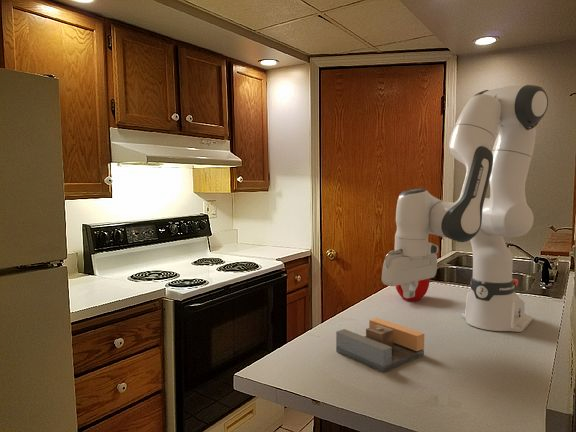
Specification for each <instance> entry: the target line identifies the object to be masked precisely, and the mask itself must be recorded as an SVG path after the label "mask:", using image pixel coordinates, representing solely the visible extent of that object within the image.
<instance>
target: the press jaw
mask: <svg viewBox="0 0 576 432" xmlns="http://www.w3.org/2000/svg"><path fill="white" fill-rule="evenodd" d="M376 325H381V326H384V327H387V328H390V329H393V330H394V343H396V344H399V345H401V346H404V347H407V348H409V349H412V350H415V351H419V350H421V349H425V333H424V332H421V331H418V330H415V329H413V328H409V327H406V326H404V325H400V324H397V323H393V322H390V321H387V320H385V319H381V318H378V317H374V318H371V319H369V326H368V328H370V327H373V326H376Z"/></svg>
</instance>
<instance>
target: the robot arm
mask: <svg viewBox="0 0 576 432" xmlns="http://www.w3.org/2000/svg"><path fill="white" fill-rule="evenodd" d="M548 97H549V96H548V94H547V92H546V91H545V89H544V88H543V87H542V86H538V85H535V84H526V85H509V86H504V87H498V88H493V89H485V90H482V91H479V92H478V93H475V94H474V95H473V96H472V97H471V98H470V99H469V100H468V101H467V103H466V104H465V105H464V107H463V108H462V111H461V112H460V114H459V115H458V118H457V119H456V123H455V124H454V127H453V130H452V131H451V134H450V137H449V141H448V149H449V152H450V154H451V155H452V157H453V158H454V159H455V160H456V161H458V162H460V163H461V164H463V165H464V166H465V176H464V180H463V182H462V183H463V184H462V188H461V191H460V194H459V198H458V199H457V200H456V201H454V202H449V201H443V200H442V199H439V198H437V197H435V196H434V195H432V194H431V193H430V192H429V191H428V189H425V188H414V189H413V188H412V189H407V190H403V191H402V192H401V193H400V194H399V195H398V198H397V200H396V201H397V203H396V209H395V225H396V231H395V234H394V250H390V251H388V253H387V254H386V255H385V258H384V260H383V265H382V272H381V282H382V284H383V285H385V286H389V287H396V286H397V285H401V287H402V290H403V297H404V298H411V297H414V296H415V290H416V288H417V286H418V281H420V280H424V279H429V278H430V279H433V278H435V276H436V275H437V270H438V253H439V246H438V245H437V244H434V243H432V242H429V235H430V234H431V235H435V236H437V237H440V238H447V239H449V240H452V241H455V242H457V243H466V242H468V241H469V242H470V245H471V250H472V277H470V278H471V279H470V289H471V290H470V291H468V292H467V295H466V300H465V301H466V302H465V303H466V304H465V311H464V312H462V314H461V317H462V318H463V319H465V322H466V323H467V324H468V325H470V326H472V327H474V328H479V329H480V330H486V331H491V332H492V331H493V332H494V331H495V332H514V333H515V332H517V333H522V332H524V330H525V329H527V327H528V325H530V324H531V322H533V316H532V315H530V314H527V313H525V311H526V310H525V308H526V307H525V302H524V300H523V299H522V298H521V297H520V296H519V295H518V294H517V292H516V288H515V287H517V286H518V284H519V280H518V279H514V278H513V266H514V265H513V264H514V263H513V262H514V261H513V260H514V258H513V257H514V255H513V253H512V252H511V250H510V249H509V247H508V246H507V244H506V241H505V239H504V238H517V237H522V236H525V235H526V234H528V233H529V232H530V231H531V229H532V227H533V224H534V213H533V211H532V209H531V208H530V206H529V205H528V203H527V197H526V181H527V177H528V173H529V169H530V164H531V161H532V158H533V155H534V154H533V153H534V150H535V144H536V135H537V133H536V132H537V130H536V126H537V125H538V124H539V123H540V122H541V120H542V119H543V118H544V116H545V114H546V112H547V110H548V106H549V98H548ZM497 131H498V134H497V135H496V133H497ZM495 137H496V138H495ZM494 138H495V141H494ZM493 142H494V144H493ZM492 145H493V146H492ZM488 187H490V189H489V190H490V192H489V193H490V194H489V198H488V197H486V195H487V191H488Z"/></svg>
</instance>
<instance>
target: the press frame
mask: <svg viewBox="0 0 576 432" xmlns="http://www.w3.org/2000/svg"><path fill="white" fill-rule="evenodd" d="M335 333H336V334H335V339H336V340H335V342H336V344H335V345H336V346H335V347H336V348H335V349H336V350H335V352H337V353H338V354H340V355H343V356H345V357H348V358H350V359H352V360H354V361H356V362H358V363H360V364H363V365H365V366H368V367H370V368H371V369H374V370H376V371H379V372H381V373H383V374H384V373H387V372H389V371H390V370H393V369H396V368H398V367H400V366H402V365H404V364H406V363H409V362H411V361H414V360H416V359H418V358H420V357H423V356H425V350H424V349H425V348H424V349H421V350H419V351H415V350H412V349H409V348H407V347H404V346H401V345H399V344H396V343H393V349H392V347H390V346H387V345H385V344H382V343H380V342H377V341H374V340H372V339H369V338H367V337H366V335H365V336H363V335H361V334H359V333H355V332H353V331H351V330H348V329H345V328H343V329H339V330H337V331H336V332H335Z"/></svg>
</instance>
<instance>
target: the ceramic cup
mask: <svg viewBox="0 0 576 432" xmlns="http://www.w3.org/2000/svg"><path fill="white" fill-rule="evenodd" d="M430 279H431V278H429V279H424V280H420V281H418V286H417V288H416V290H415V296H414V297H411V298H404V297H403V290H402V287H401V285H397V286H395V289H396V291H397V293H398V295H399V297H401V299H402V300H404V301H407V302H418V301H421V299H423V297H425V295H426V293H427V292H428V290H429V287H430V282H431V281H430Z"/></svg>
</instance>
